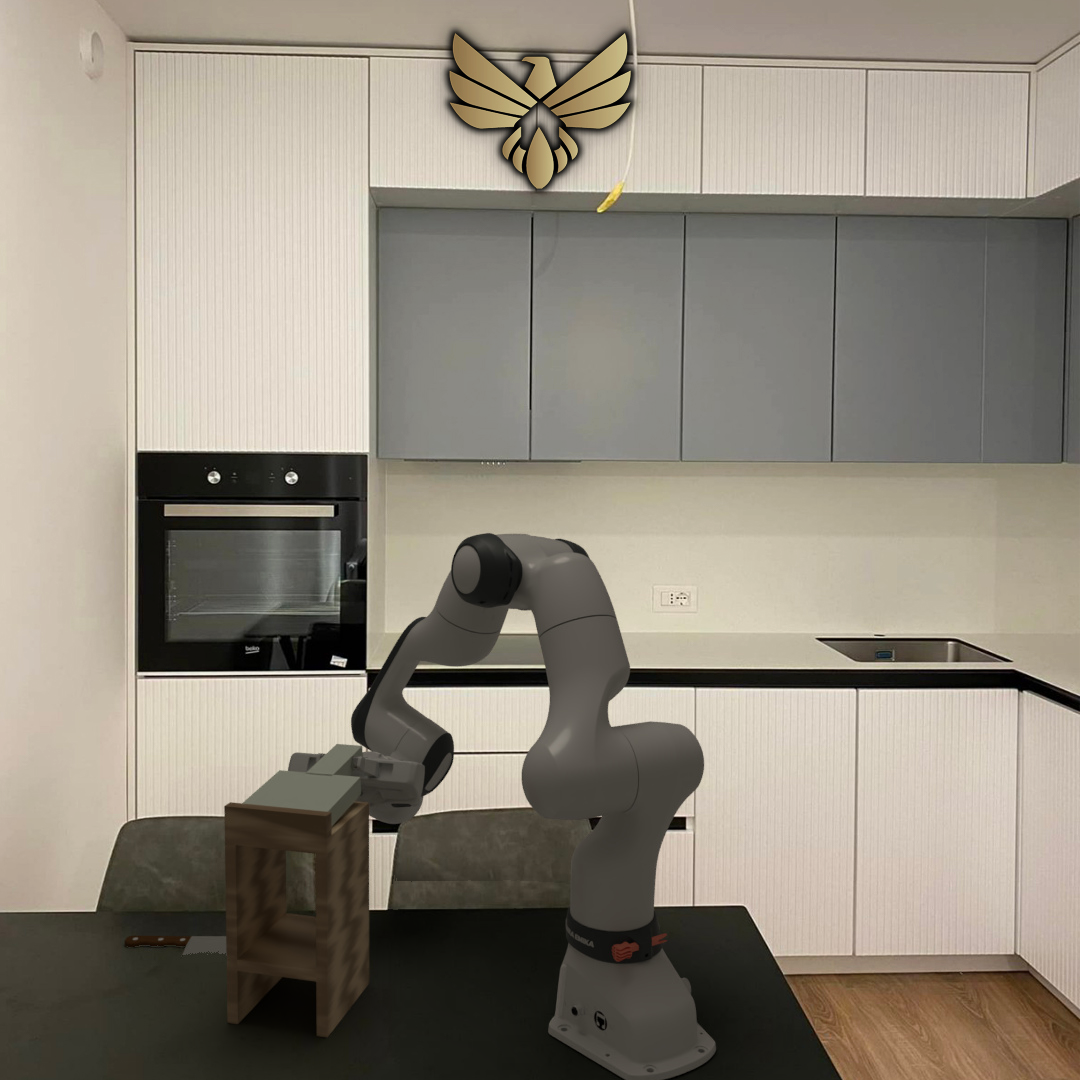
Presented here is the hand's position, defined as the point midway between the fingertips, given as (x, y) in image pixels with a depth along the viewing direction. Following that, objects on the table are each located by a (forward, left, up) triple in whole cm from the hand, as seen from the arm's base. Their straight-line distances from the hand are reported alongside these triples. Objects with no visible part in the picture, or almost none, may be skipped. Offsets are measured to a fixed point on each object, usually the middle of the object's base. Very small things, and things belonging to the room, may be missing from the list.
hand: (338, 760), depth 153 cm
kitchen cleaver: (+13, +16, -30) cm, 37 cm away
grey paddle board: (-5, +5, -3) cm, 7 cm away
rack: (-9, +9, -30) cm, 32 cm away
